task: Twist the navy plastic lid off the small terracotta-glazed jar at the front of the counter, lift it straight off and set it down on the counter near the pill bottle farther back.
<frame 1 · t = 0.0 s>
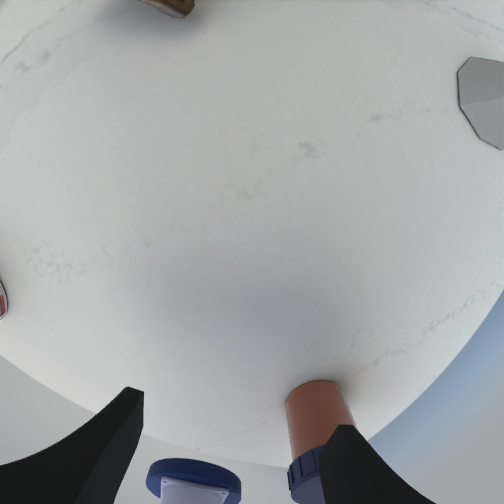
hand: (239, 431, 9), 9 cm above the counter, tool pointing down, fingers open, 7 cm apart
flask: (484, 103, 14), on the counter
jar: (314, 401, 19), on the counter
lid: (335, 484, 12), point 8 cm above the counter, screwed on, not yet turned
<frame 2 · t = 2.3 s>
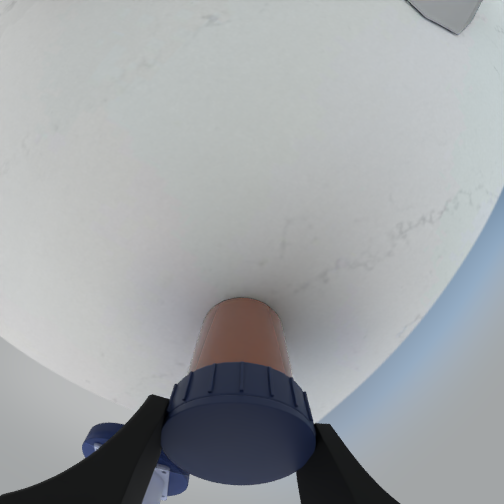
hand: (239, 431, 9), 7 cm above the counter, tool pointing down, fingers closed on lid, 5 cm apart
jar: (242, 334, 16), on the counter
lid: (237, 445, 8), point 8 cm above the counter, screwed on, not yet turned, touching gripper
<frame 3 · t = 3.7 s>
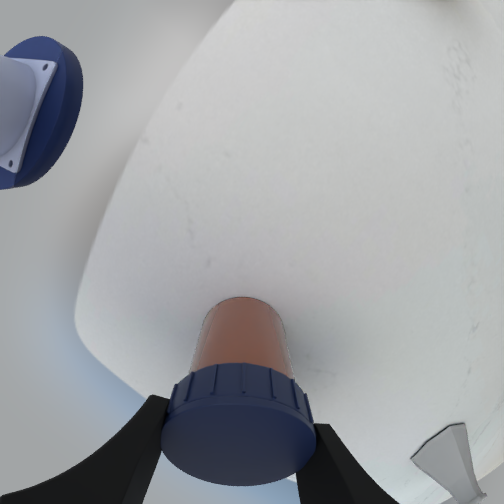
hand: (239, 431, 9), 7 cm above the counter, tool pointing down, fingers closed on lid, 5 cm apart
flask: (439, 443, 20), on the counter
jar: (242, 333, 16), on the counter
lid: (237, 446, 8), point 8 cm above the counter, off its thread, touching gripper
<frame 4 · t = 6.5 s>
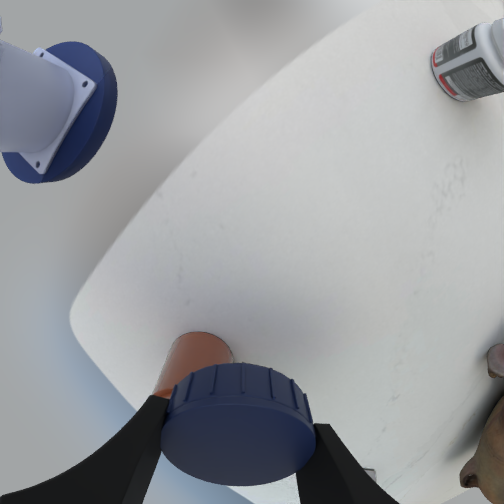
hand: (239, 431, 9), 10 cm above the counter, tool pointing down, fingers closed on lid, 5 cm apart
pill bottle: (451, 74, 14), on the counter
jar: (201, 358, 20), on the counter
lid: (237, 446, 8), point 11 cm above the counter, off its thread, touching gripper
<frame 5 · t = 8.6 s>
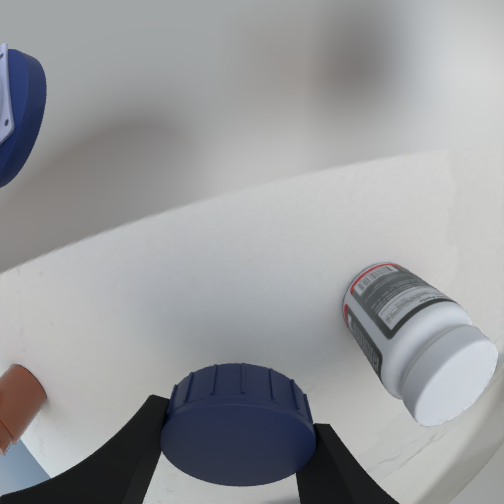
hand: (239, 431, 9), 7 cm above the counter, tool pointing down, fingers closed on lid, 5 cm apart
pill bottle: (377, 298, 15), on the counter
jar: (27, 384, 17), on the counter
lid: (237, 447, 8), point 8 cm above the counter, off its thread, touching gripper
when the fingers open (1 cm above the counter, at t = 10.7 s): lid stays where it is, point 2 cm above the counter.
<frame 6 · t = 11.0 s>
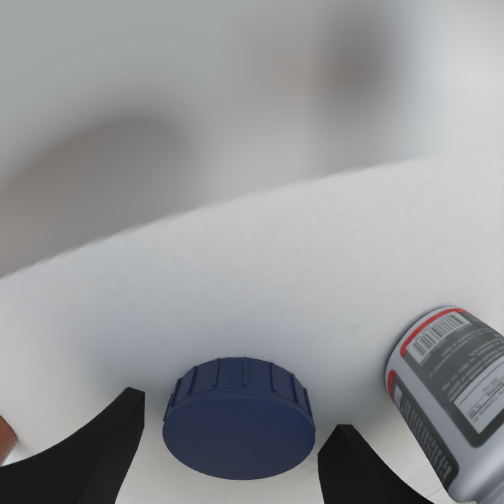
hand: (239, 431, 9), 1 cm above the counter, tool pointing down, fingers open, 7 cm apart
pill bottle: (428, 352, 10), on the counter
lid: (238, 440, 8), point 2 cm above the counter, off its thread
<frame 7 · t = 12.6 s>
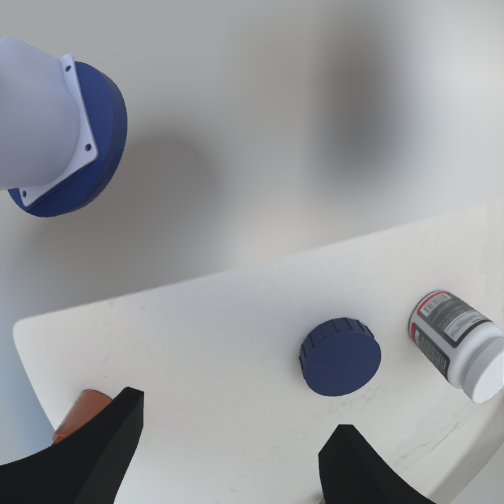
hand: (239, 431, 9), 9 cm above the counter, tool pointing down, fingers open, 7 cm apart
pill bottle: (431, 316, 18), on the counter
jar: (101, 408, 20), on the counter
lid: (342, 364, 17), point 2 cm above the counter, off its thread
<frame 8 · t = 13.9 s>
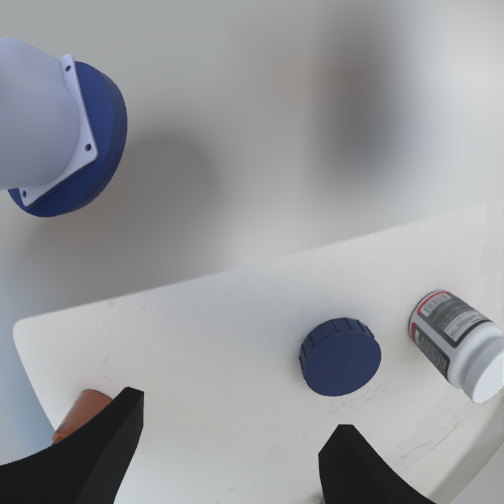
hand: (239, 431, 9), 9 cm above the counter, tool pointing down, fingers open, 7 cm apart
pill bottle: (431, 316, 18), on the counter
jar: (101, 408, 20), on the counter
lid: (342, 364, 17), point 2 cm above the counter, off its thread
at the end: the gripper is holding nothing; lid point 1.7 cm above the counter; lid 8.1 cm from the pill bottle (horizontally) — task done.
